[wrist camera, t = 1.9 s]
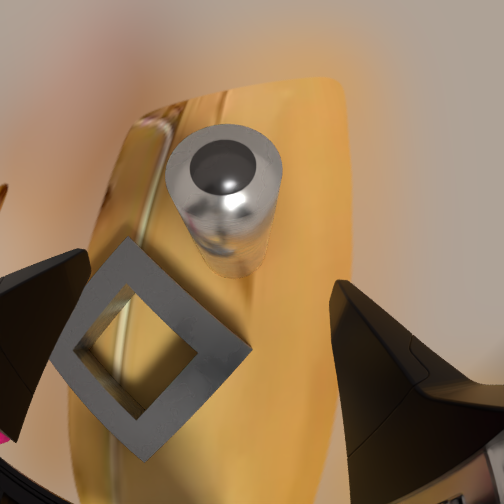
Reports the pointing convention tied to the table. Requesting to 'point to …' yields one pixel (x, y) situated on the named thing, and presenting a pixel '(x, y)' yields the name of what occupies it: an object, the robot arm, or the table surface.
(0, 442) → the pepper mill
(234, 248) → the ring
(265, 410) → the table surface
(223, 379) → the jig
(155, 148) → the table surface
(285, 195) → the table surface
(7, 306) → the robot arm
